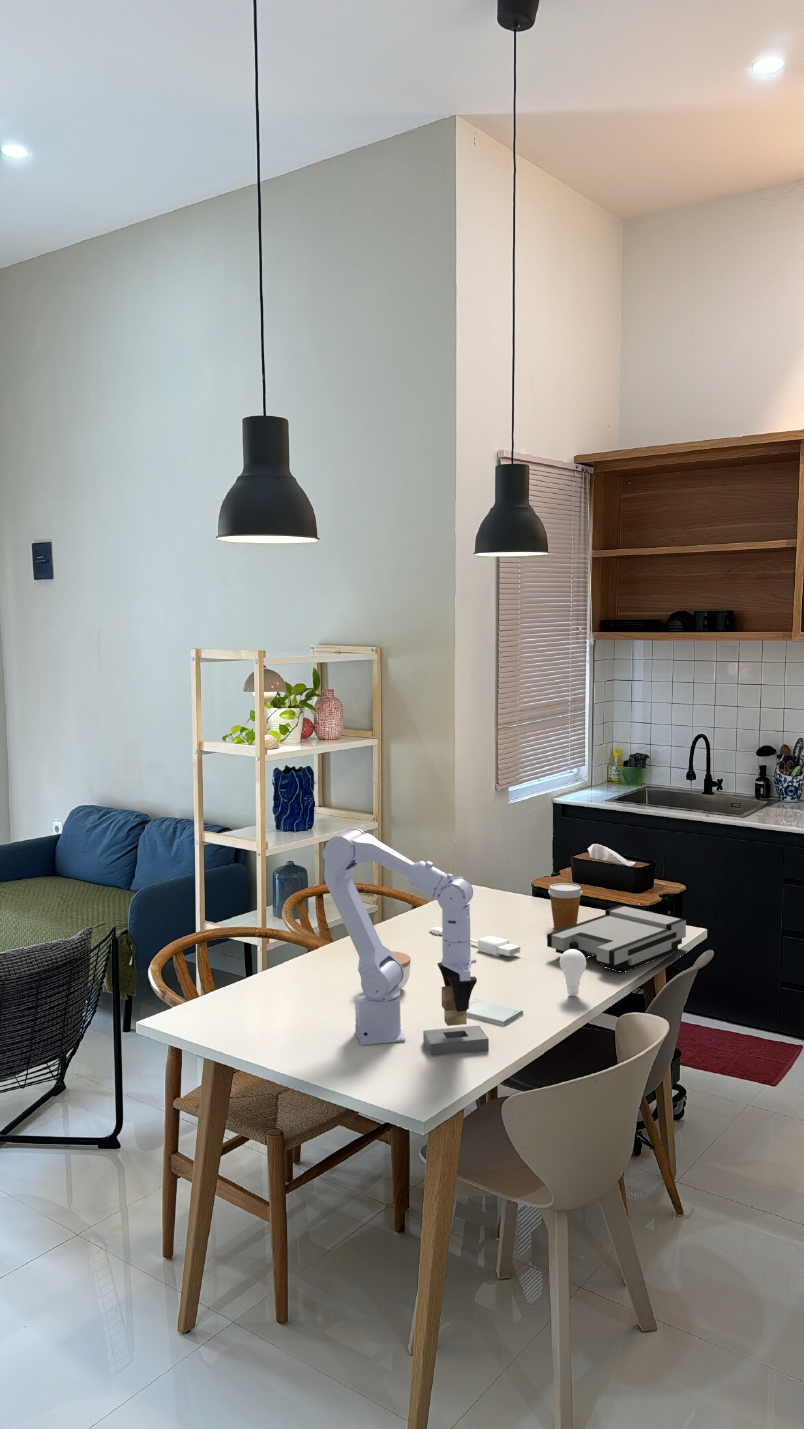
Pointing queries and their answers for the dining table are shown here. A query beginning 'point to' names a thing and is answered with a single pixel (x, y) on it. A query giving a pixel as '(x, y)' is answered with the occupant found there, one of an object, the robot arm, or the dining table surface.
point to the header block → (455, 1040)
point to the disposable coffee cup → (564, 904)
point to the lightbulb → (572, 969)
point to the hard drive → (492, 1012)
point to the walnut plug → (452, 1008)
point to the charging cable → (490, 944)
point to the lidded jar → (405, 963)
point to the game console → (622, 937)
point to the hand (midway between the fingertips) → (457, 1003)
